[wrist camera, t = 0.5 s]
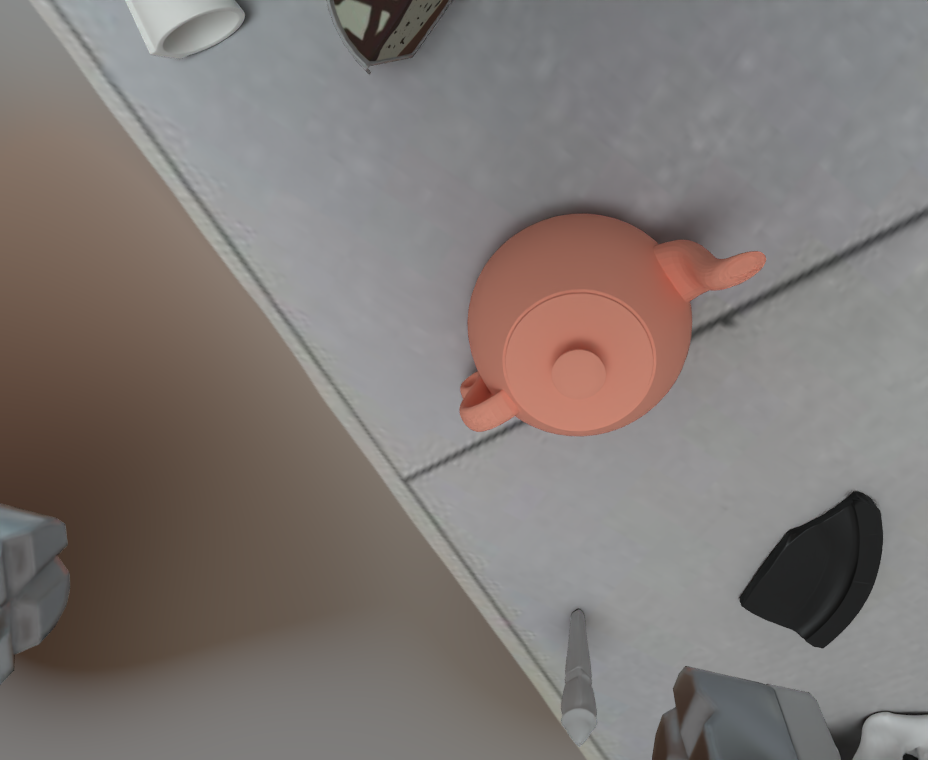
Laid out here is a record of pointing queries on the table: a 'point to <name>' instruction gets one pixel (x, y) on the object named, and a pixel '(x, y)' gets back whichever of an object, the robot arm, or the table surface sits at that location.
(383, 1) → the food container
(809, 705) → the robot arm
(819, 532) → the dark sector wedge
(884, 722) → the skull planter
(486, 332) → the teapot
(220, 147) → the table surface
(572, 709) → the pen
